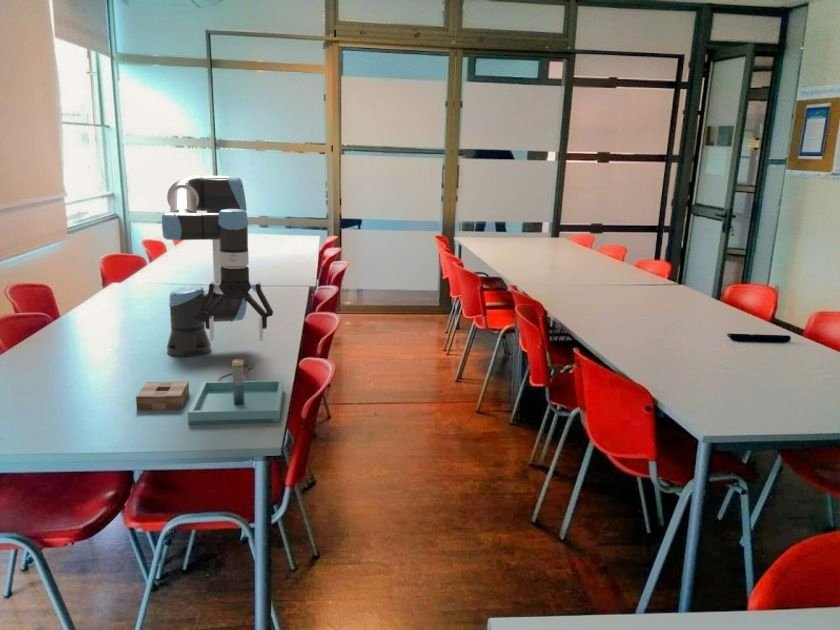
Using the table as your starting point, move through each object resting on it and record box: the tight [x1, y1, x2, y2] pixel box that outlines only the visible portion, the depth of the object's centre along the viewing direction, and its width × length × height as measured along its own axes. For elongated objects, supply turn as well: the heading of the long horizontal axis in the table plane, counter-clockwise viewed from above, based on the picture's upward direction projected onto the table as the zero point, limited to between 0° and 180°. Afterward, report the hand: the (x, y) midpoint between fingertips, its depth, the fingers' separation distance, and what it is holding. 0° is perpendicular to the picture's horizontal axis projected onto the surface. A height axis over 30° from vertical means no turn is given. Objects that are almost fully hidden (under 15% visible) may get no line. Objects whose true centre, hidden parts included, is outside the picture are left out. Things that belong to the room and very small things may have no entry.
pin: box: [231, 358, 245, 405], centre depth 186 cm, size 3×3×13 cm
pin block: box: [135, 380, 190, 411], centre depth 189 cm, size 12×12×4 cm
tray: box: [187, 379, 284, 425], centre depth 187 cm, size 24×24×4 cm
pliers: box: [217, 362, 256, 381], centre depth 215 cm, size 10×1×20 cm
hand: (236, 339), depth 183 cm, fingers open, 13 cm apart
